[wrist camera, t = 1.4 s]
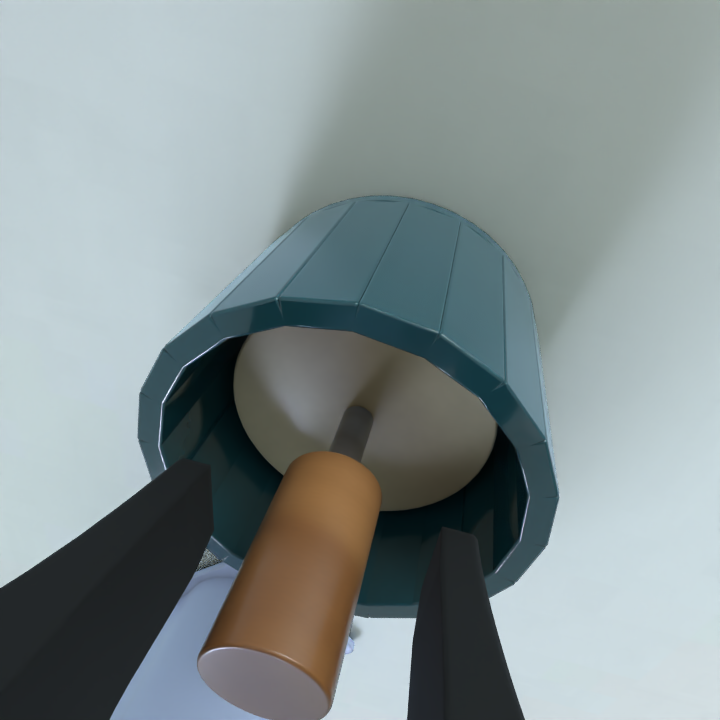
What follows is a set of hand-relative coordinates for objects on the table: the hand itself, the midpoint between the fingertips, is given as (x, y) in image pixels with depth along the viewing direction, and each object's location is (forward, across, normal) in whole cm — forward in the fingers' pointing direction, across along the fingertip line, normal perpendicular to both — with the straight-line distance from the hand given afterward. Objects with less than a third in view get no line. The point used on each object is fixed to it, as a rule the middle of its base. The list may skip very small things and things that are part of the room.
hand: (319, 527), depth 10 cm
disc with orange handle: (+6, 0, 0) cm, 6 cm away
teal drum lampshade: (+8, 0, 0) cm, 8 cm away
